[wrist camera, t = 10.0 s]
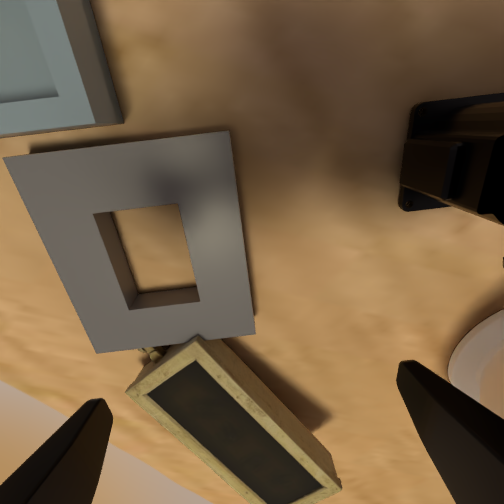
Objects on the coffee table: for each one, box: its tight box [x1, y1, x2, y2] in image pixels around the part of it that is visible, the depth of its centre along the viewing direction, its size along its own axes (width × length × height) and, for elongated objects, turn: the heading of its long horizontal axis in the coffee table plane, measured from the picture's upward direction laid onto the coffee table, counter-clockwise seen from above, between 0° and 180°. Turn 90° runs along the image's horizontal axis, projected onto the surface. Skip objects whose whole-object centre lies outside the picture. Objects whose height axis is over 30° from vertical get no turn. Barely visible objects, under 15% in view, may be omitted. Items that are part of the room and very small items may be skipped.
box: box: [125, 336, 342, 504], centre depth 24 cm, size 8×22×5 cm, turn 41°
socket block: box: [3, 130, 256, 354], centre depth 18 cm, size 12×14×2 cm
